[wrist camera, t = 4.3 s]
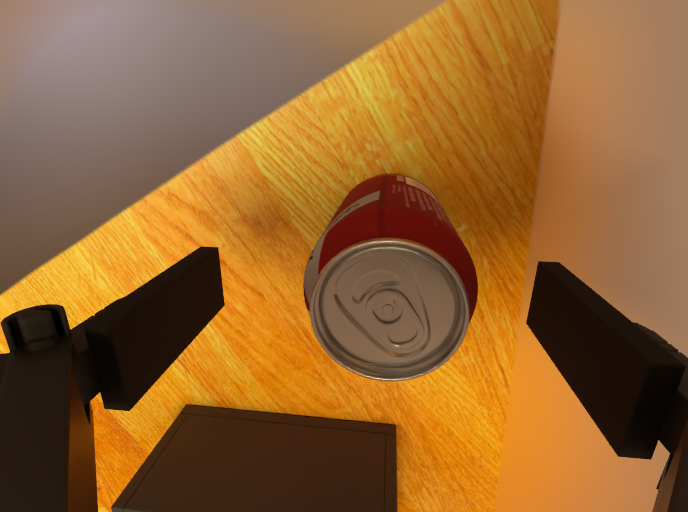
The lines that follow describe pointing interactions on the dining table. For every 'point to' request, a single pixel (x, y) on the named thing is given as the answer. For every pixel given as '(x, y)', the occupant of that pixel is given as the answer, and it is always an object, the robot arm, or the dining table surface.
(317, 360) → the dining table surface
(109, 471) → the dining table surface
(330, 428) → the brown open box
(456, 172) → the dining table surface
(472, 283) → the soda can
